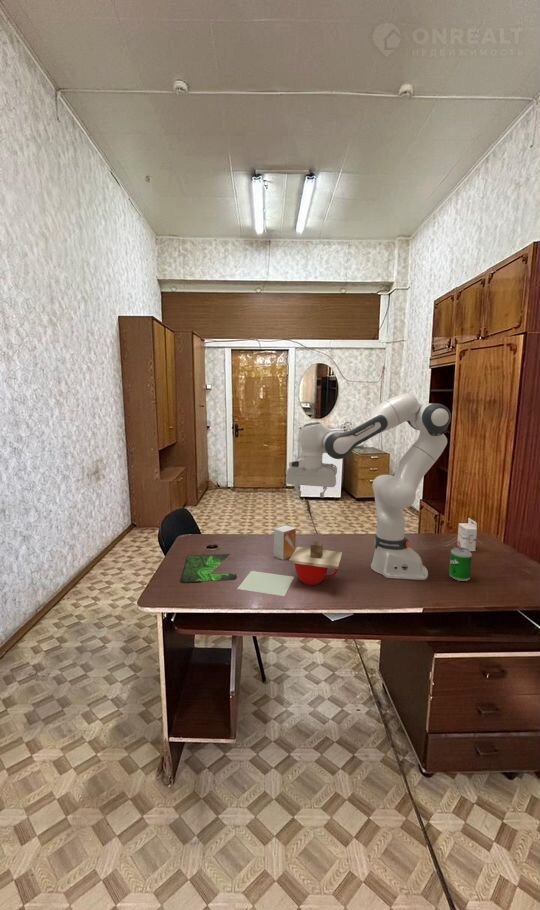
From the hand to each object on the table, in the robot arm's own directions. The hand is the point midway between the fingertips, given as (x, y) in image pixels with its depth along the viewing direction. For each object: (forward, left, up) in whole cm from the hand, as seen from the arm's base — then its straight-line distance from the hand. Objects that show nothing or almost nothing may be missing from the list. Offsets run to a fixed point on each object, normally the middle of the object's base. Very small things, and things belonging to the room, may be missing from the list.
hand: (310, 496), depth 155 cm
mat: (+13, +18, -31) cm, 38 cm away
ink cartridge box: (-68, -44, -31) cm, 87 cm away
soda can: (-59, -9, -31) cm, 67 cm away
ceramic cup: (-5, +12, -31) cm, 34 cm away
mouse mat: (+40, +11, -32) cm, 52 cm away
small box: (+13, -10, -31) cm, 35 cm away
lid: (-5, +12, -21) cm, 25 cm away
